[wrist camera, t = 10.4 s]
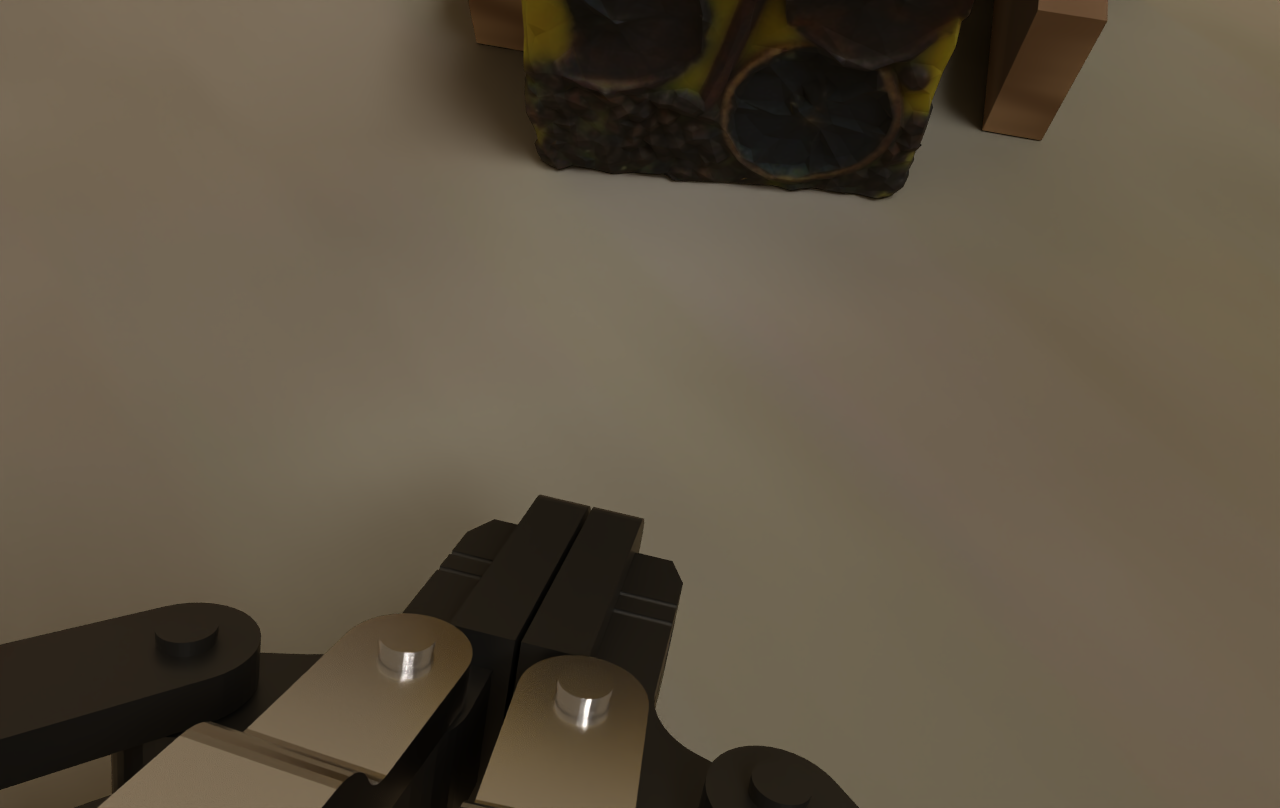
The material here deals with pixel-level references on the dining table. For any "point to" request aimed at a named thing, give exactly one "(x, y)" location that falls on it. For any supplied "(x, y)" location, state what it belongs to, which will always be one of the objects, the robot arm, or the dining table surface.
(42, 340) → the dining table surface
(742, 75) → the candle
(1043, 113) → the brown rectangular block structure
